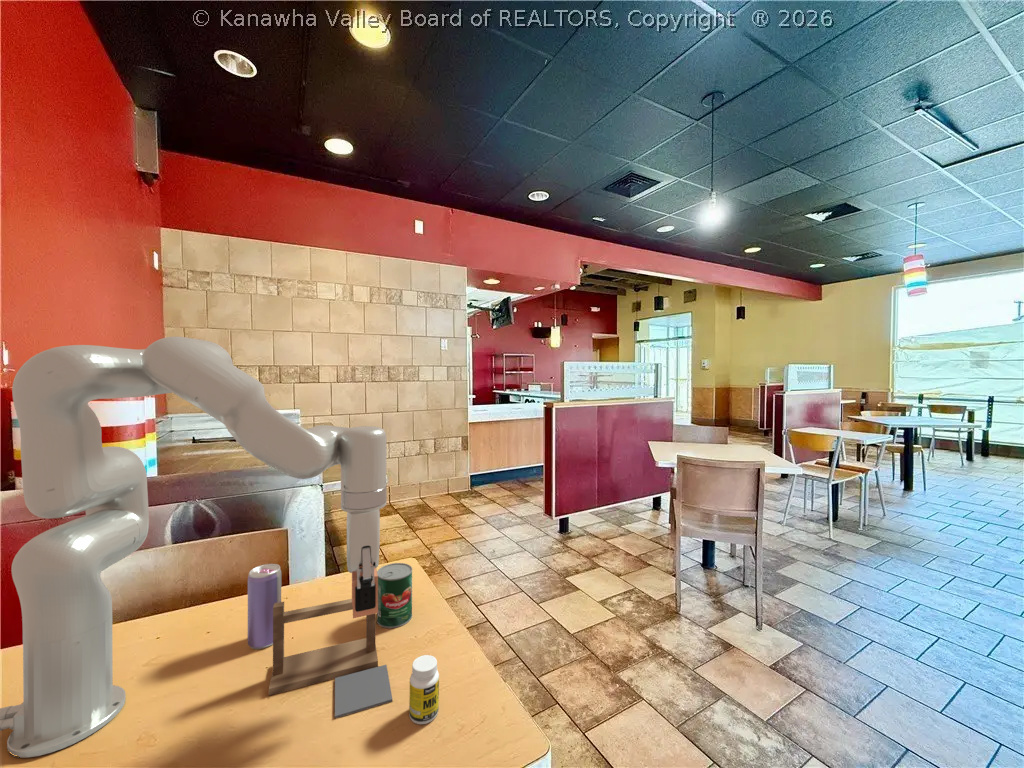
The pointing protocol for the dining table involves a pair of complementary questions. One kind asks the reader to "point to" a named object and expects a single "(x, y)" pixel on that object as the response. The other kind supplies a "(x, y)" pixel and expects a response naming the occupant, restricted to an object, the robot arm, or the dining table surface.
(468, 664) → the dining table surface
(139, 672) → the dining table surface
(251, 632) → the beverage can
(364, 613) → the c link
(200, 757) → the dining table surface
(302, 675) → the stand
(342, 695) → the mat
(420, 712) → the supplement bottle
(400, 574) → the canned tomato
